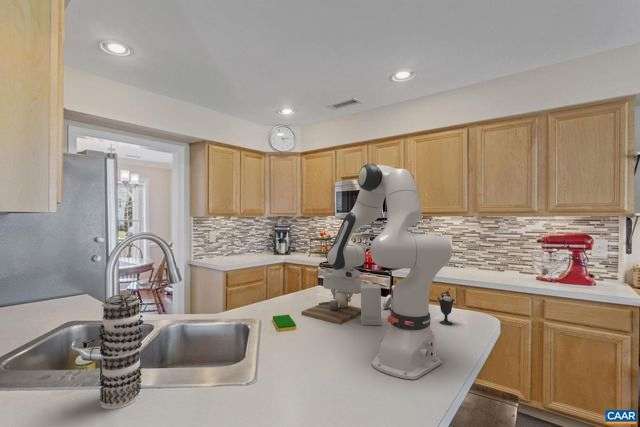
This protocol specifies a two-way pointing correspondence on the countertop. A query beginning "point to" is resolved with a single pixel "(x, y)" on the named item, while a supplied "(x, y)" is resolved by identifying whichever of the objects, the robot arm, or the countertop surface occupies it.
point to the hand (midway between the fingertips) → (341, 300)
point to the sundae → (446, 306)
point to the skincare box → (371, 304)
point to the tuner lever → (339, 300)
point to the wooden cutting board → (332, 313)
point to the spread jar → (389, 300)
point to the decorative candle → (120, 351)
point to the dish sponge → (284, 323)
